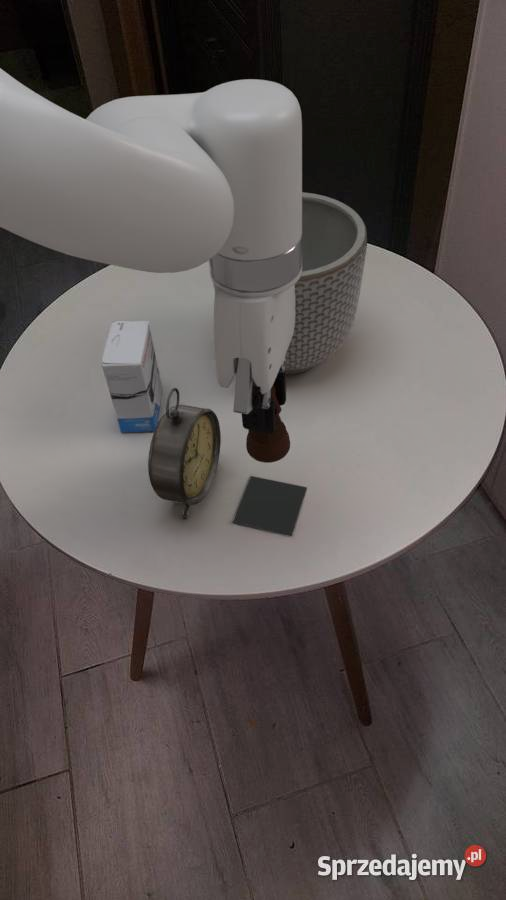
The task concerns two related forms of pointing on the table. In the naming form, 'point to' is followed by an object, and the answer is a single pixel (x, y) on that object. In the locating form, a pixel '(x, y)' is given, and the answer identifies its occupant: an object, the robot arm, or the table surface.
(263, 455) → the chess piece
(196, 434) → the alarm clock
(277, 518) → the slate coaster
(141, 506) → the table surface
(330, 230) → the planter
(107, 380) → the ink box
